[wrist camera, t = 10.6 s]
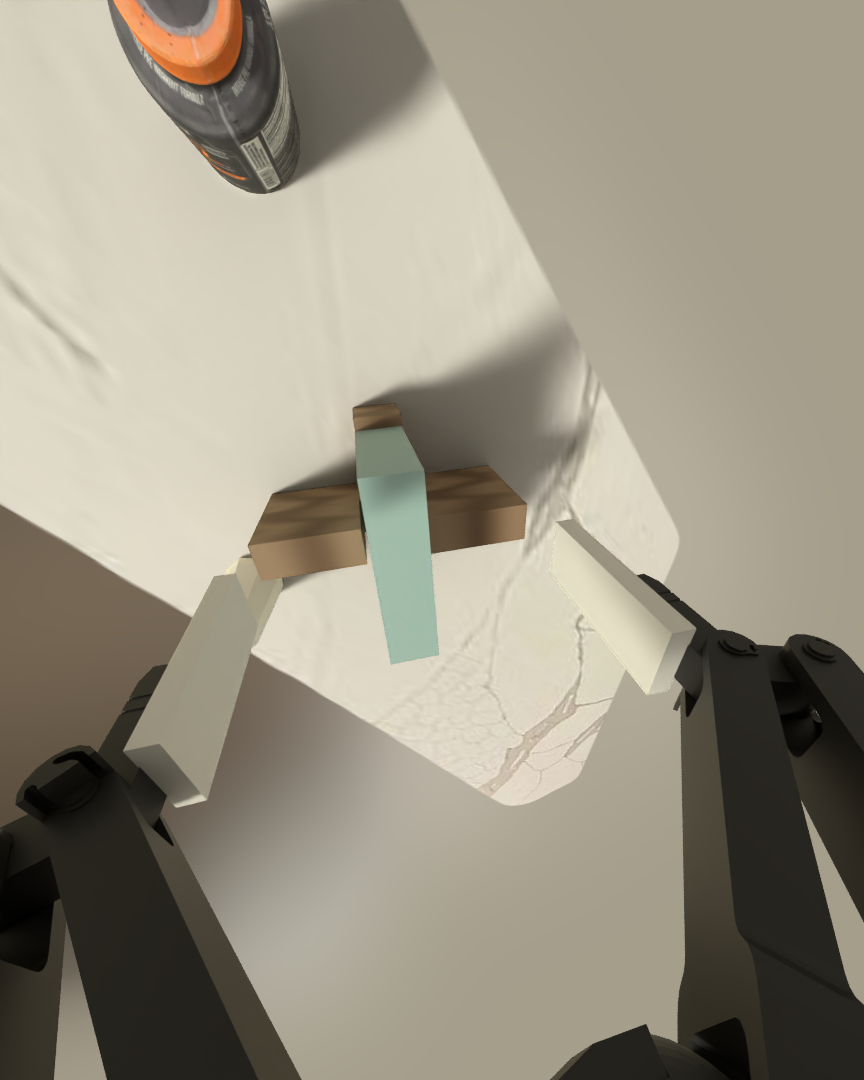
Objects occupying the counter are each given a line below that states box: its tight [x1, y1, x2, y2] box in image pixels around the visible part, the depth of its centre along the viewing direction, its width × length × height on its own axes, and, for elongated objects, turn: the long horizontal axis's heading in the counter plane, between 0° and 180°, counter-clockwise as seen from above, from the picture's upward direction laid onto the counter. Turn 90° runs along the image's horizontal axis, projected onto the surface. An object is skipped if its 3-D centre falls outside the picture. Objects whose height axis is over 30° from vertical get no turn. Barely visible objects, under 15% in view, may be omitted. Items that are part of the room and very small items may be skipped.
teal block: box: [355, 426, 439, 664], centre depth 27 cm, size 14×4×10 cm, turn 4°
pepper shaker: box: [224, 558, 283, 649], centre depth 31 cm, size 5×5×11 cm
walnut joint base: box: [248, 403, 527, 581], centre depth 30 cm, size 20×16×9 cm
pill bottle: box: [108, 0, 300, 194], centre depth 16 cm, size 6×6×11 cm
